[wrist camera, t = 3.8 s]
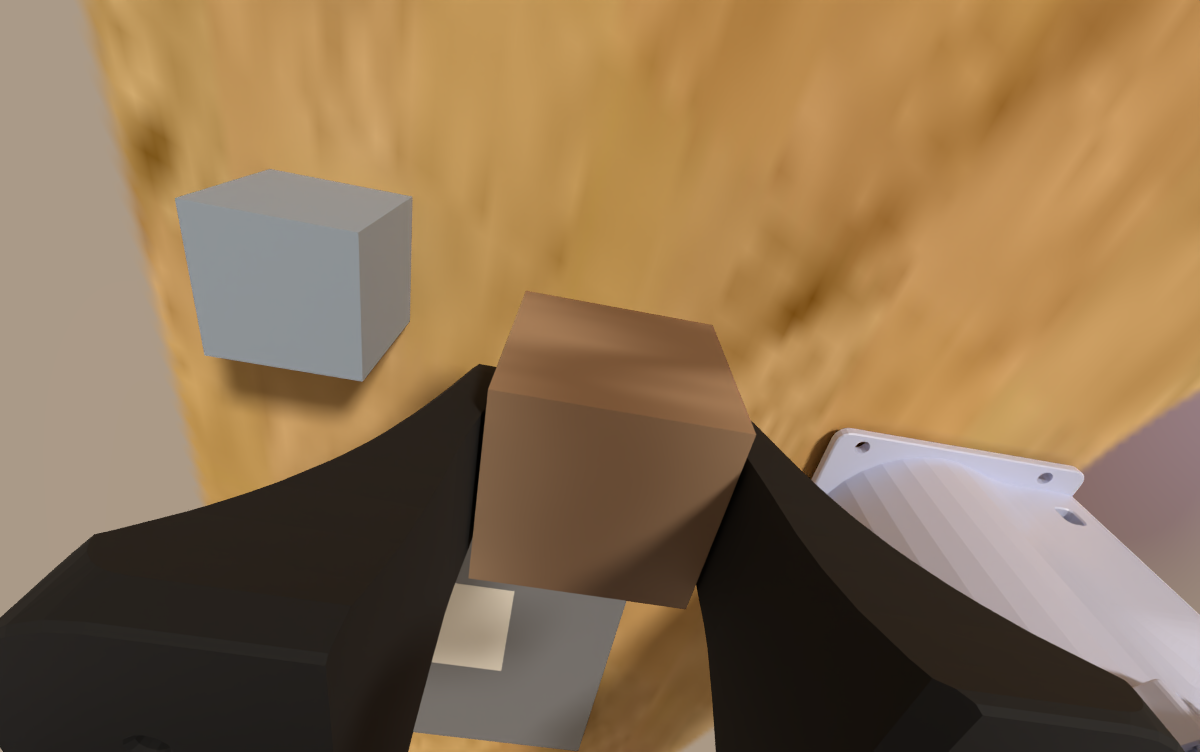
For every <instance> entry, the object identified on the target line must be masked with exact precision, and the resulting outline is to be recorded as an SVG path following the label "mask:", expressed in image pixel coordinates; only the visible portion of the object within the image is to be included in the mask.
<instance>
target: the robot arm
mask: <svg viewBox="0 0 1200 752" xmlns="http://www.w3.org/2000/svg"><path fill="white" fill-rule="evenodd" d="M496 368H497V367H493V366H487V365H481V364H479V365H477V366H476V367H474V368H473V369H471V370H470V371H469V372H468V373H467V374H465V375H464V376H463V377H462V378H460V379H459V380H458V381H457V382H456V383H454V384H453V385H452V386H451V387H449V388H448V389H447V390H445V391H444V392H443V393H442V394H440V395H439V396H438V397H436V398H435V399H433V400H432V401H431V402H429V403H428V404H427V405H425V406H424V407H423V408H421V409H420V410H418V411H417V412H416V413H414V414H413V415H411V416H410V417H408V418H406V419H405V420H403V421H402V422H400V423H399V424H397V425H396V426H394V427H392V428H391V429H389V430H388V431H386V432H385V433H383V434H381V435H380V436H378V437H376V438H374V439H373V440H371V441H369V442H367V443H365V444H363V445H361V446H359V447H357V448H355V449H353V450H351V451H349V452H347V453H345V454H343V455H341V456H339V457H337V458H335V459H333V460H331V461H328V462H326V463H323V464H321V465H319V466H316V467H314V468H311V469H309V470H306V471H304V472H302V473H299V474H297V475H294V476H292V477H290V478H287V479H285V480H282V481H280V482H277V483H274V484H272V485H269V486H266V487H263V488H260V489H257V490H255V491H252V492H249V493H246V494H243V495H240V496H237V497H233V498H230V499H227V500H224V501H221V502H218V503H214V504H211V505H208V506H204V507H201V508H197V509H194V510H191V511H187V512H183V513H179V514H175V515H171V516H167V517H164V518H160V519H156V520H152V521H148V522H144V523H140V524H136V525H132V526H128V527H125V528H120V529H117V530H112V531H108V532H103V533H99V534H94V535H93V536H92V537H91V538H90V539H88V540H87V541H86V542H85V543H83V544H82V545H81V546H80V547H79V548H78V549H77V550H75V551H74V552H73V553H72V554H71V555H70V556H68V557H67V558H66V559H65V560H64V561H63V562H61V563H60V564H59V565H58V566H57V567H56V568H55V569H54V570H52V572H50V573H49V574H48V575H47V576H46V577H45V578H44V579H42V580H41V581H40V582H39V583H38V584H37V585H36V586H35V587H34V588H33V589H31V590H30V591H29V592H28V593H27V594H26V595H25V596H24V597H23V598H22V599H20V600H19V601H18V602H17V603H16V604H15V605H14V606H13V607H11V608H10V609H9V610H8V611H7V612H6V613H5V614H4V615H3V616H2V617H0V748H1V749H2V751H3V752H408V750H409V746H410V742H411V738H412V734H413V730H414V727H415V723H416V719H417V715H418V711H419V708H420V704H421V700H422V696H423V693H424V689H425V685H426V681H427V678H428V674H429V670H430V666H431V663H432V659H433V655H434V652H435V648H436V644H437V641H438V637H439V633H440V630H441V626H442V622H443V619H444V615H445V612H446V609H447V606H448V603H449V600H450V597H451V594H452V591H453V588H454V585H455V583H456V580H457V577H458V575H459V572H460V570H461V567H462V564H463V562H464V559H465V557H466V554H467V551H468V549H469V546H470V543H471V541H472V538H473V530H474V521H475V511H476V501H477V492H478V482H479V472H480V463H481V453H482V444H483V434H484V424H485V415H486V405H487V396H488V388H489V386H490V383H491V381H492V378H493V375H494V373H495V370H496ZM751 423H752V425H753V428H754V430H755V433H756V437H755V439H754V442H753V444H752V447H751V449H750V452H749V454H748V457H747V459H746V461H745V464H744V466H743V469H742V471H741V474H740V476H739V479H738V481H737V484H736V486H735V489H734V491H733V494H732V496H731V499H730V501H729V504H728V506H727V509H726V511H725V513H724V516H723V518H722V521H721V523H720V526H719V528H718V531H717V533H716V536H715V538H714V541H713V543H712V546H711V548H710V551H709V553H708V556H707V558H706V561H705V563H704V566H703V568H702V570H701V573H700V575H699V578H698V580H697V583H696V586H697V591H698V596H699V601H700V606H701V611H702V616H703V621H704V627H705V634H706V640H707V647H708V657H709V668H710V679H711V690H712V702H713V716H714V731H715V745H716V752H1200V615H1199V614H1198V613H1197V612H1196V611H1195V610H1194V609H1193V608H1192V607H1191V606H1190V605H1189V604H1187V603H1186V602H1185V601H1184V600H1183V599H1182V598H1181V597H1180V596H1179V595H1177V593H1176V592H1174V591H1173V590H1172V589H1171V588H1170V587H1169V586H1168V585H1167V584H1166V583H1165V582H1164V581H1163V580H1162V579H1160V578H1159V577H1158V576H1157V575H1156V574H1155V573H1154V572H1153V571H1152V570H1151V569H1150V568H1148V566H1146V565H1145V564H1144V563H1143V562H1142V561H1141V560H1140V559H1139V558H1138V557H1137V556H1136V555H1135V554H1133V553H1132V552H1131V551H1130V550H1129V549H1128V548H1127V547H1126V546H1125V545H1124V544H1123V543H1122V542H1121V541H1119V540H1118V539H1117V538H1116V537H1115V536H1114V535H1113V534H1112V533H1111V532H1110V531H1109V530H1108V529H1106V528H1105V527H1104V526H1103V525H1102V524H1101V523H1100V522H1099V521H1098V520H1097V519H1096V518H1095V517H1093V516H1092V515H1091V514H1090V513H1089V512H1088V511H1087V510H1086V509H1085V508H1084V507H1083V506H1081V504H1080V503H1078V502H1077V501H1076V500H1075V499H1074V498H1073V497H1072V496H1073V494H1074V493H1075V492H1076V491H1077V489H1078V488H1079V487H1080V485H1082V483H1083V481H1084V475H1083V474H1082V472H1080V471H1079V470H1078V469H1077V468H1076V467H1073V466H1070V465H1064V464H1058V463H1052V462H1046V461H1040V460H1034V459H1029V458H1023V457H1017V456H1011V455H1005V454H999V453H994V452H988V451H982V450H976V449H970V448H964V447H958V446H953V445H947V444H941V443H935V442H929V441H923V440H917V439H912V438H906V437H900V436H894V435H888V434H882V433H876V432H871V431H865V430H859V429H853V428H844V429H841V430H839V431H838V432H836V433H835V434H834V435H833V437H832V438H831V440H830V442H829V445H828V447H827V449H826V451H825V453H824V455H823V457H822V459H821V461H820V463H819V465H818V467H817V469H816V471H815V473H814V475H813V477H812V479H810V478H809V477H807V476H806V475H805V474H804V473H803V472H802V471H801V470H800V469H799V468H798V467H797V466H796V465H795V464H794V463H793V462H792V461H791V460H790V459H789V458H788V457H787V456H786V455H785V454H784V453H783V452H782V451H781V450H780V449H779V448H778V447H777V446H776V445H775V444H774V443H773V442H772V441H771V440H770V439H769V438H768V437H767V436H766V435H765V434H764V433H763V432H762V431H761V430H760V429H759V428H758V427H757V426H756V425H755V424H754V423H753V422H752V421H751ZM860 442H865V443H864V444H863V445H861V446H859V447H855V446H856V445H857V444H858V443H860ZM1041 474H1042V475H1041Z"/></svg>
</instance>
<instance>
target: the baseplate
mask: <svg viewBox="0 0 1200 752" xmlns="http://www.w3.org/2000/svg"><path fill="white" fill-rule="evenodd" d="M472 540H473V538H472ZM471 549H472V541H471V543H470V546H469V549H468V551H467V554H466V557H465V559H464V562H463V564H462V567H461V570H460V572H459V575H458V577H457V580H456V583H455V585H454V588H453V591H452V594H451V597H450V600H449V603H448V606H447V609H446V612H445V615H444V619H443V622H442V626H441V630H440V633H439V637H438V641H437V644H436V648H435V652H434V655H433V659H432V663H431V666H430V670H429V674H428V678H427V681H426V685H425V689H424V693H423V696H422V700H421V704H420V708H419V711H418V715H417V719H416V723H415V727H414V730H413V732H417V733H426V734H435V735H443V736H452V737H460V738H469V739H478V740H486V741H495V742H503V743H512V744H521V745H529V746H538V747H547V748H555V749H564V750H572V751H578V750H579V747H580V744H581V741H582V737H583V734H584V731H585V728H586V725H587V722H588V719H589V716H590V712H591V709H592V706H593V703H594V700H595V697H596V694H597V691H598V688H599V684H600V681H601V678H602V675H603V672H604V669H605V666H606V663H607V659H608V656H609V653H610V650H611V647H612V644H613V641H614V638H615V635H616V631H617V628H618V625H619V622H620V619H621V616H622V613H623V610H624V606H625V603H626V601H624V600H617V599H610V598H603V597H596V596H589V595H582V594H575V593H568V592H561V591H554V590H547V589H540V588H533V587H526V586H519V585H512V584H505V583H498V582H491V581H484V580H477V579H470V578H469V569H470V559H471Z"/></svg>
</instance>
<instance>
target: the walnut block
mask: <svg viewBox="0 0 1200 752" xmlns="http://www.w3.org/2000/svg"><path fill="white" fill-rule="evenodd" d="M755 437H756V433H755V430H754V428H753V425H752V423H751V420H750V418H749V415H748V413H747V410H746V408H745V405H744V403H743V400H742V398H741V395H740V393H739V390H738V388H737V385H736V383H735V380H734V378H733V375H732V373H731V370H730V368H729V365H728V362H727V360H726V357H725V355H724V352H723V350H722V347H721V345H720V342H719V340H718V337H717V335H716V332H715V330H714V327H713V325H709V324H703V323H698V322H692V321H687V320H682V319H676V318H671V317H665V316H660V315H654V314H649V313H644V312H638V311H633V310H627V309H622V308H616V307H611V306H606V305H600V304H595V303H589V302H584V301H578V300H573V299H568V298H562V297H557V296H551V295H546V294H541V293H535V292H530V291H526V292H525V295H524V297H523V300H522V302H521V305H520V308H519V310H518V313H517V315H516V318H515V321H514V323H513V326H512V328H511V331H510V334H509V336H508V339H507V341H506V344H505V347H504V349H503V352H502V354H501V357H500V360H499V362H498V365H497V368H496V370H495V373H494V375H493V378H492V381H491V383H490V386H489V388H488V396H487V405H486V415H485V424H484V434H483V444H482V453H481V463H480V472H479V482H478V492H477V501H476V511H475V521H474V530H473V540H472V549H471V559H470V569H469V578H470V579H477V580H484V581H491V582H498V583H505V584H512V585H519V586H526V587H533V588H540V589H547V590H554V591H561V592H568V593H575V594H582V595H589V596H596V597H603V598H610V599H617V600H624V601H631V602H638V603H645V604H652V605H659V606H666V607H673V608H680V609H686V608H687V605H688V603H689V600H690V598H691V595H692V593H693V590H694V588H695V585H696V583H697V580H698V578H699V575H700V573H701V570H702V568H703V566H704V563H705V561H706V558H707V556H708V553H709V551H710V548H711V546H712V543H713V541H714V538H715V536H716V533H717V531H718V528H719V526H720V523H721V521H722V518H723V516H724V513H725V511H726V509H727V506H728V504H729V501H730V499H731V496H732V494H733V491H734V489H735V486H736V484H737V481H738V479H739V476H740V474H741V471H742V469H743V466H744V464H745V461H746V459H747V457H748V454H749V452H750V449H751V447H752V444H753V442H754V439H755Z"/></svg>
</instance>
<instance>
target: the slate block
mask: <svg viewBox="0 0 1200 752" xmlns="http://www.w3.org/2000/svg"><path fill="white" fill-rule="evenodd" d="M175 202H176V207H177V212H178V217H179V223H180V228H181V233H182V238H183V244H184V249H185V254H186V260H187V265H188V270H189V275H190V281H191V286H192V291H193V297H194V302H195V307H196V312H197V318H198V323H199V328H200V333H201V339H202V344H203V349H204V355H206V356H212V357H218V358H224V359H230V360H236V361H242V362H248V363H254V364H260V365H266V366H272V367H278V368H284V369H290V370H296V371H302V372H308V373H314V374H320V375H326V376H332V377H338V378H344V379H350V380H356V381H362V382H363V380H364V379H365V378H366V377H367V375H368V374H369V373H370V372H371V370H372V369H373V368H374V366H375V365H376V364H377V363H378V361H379V360H380V359H381V357H382V356H383V355H384V354H385V352H386V351H387V350H388V348H389V347H390V346H391V345H392V343H393V342H394V341H395V339H396V338H397V337H398V336H399V334H400V333H401V332H402V331H403V329H404V328H405V327H406V325H407V324H408V323H409V322H410V287H411V238H412V196H406V195H401V194H396V193H391V192H386V191H381V190H375V189H370V188H365V187H360V186H355V185H350V184H345V183H339V182H334V181H329V180H324V179H319V178H314V177H308V176H303V175H298V174H293V173H288V172H283V171H278V170H272V169H269V170H265V171H262V172H259V173H256V174H252V175H249V176H246V177H243V178H239V179H236V180H233V181H229V182H226V183H223V184H220V185H216V186H213V187H210V188H206V189H203V190H200V191H197V192H193V193H190V194H187V195H184V196H180V197H177V198H175Z"/></svg>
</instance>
